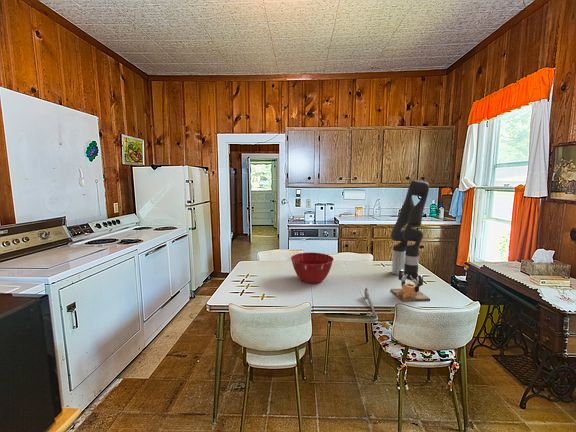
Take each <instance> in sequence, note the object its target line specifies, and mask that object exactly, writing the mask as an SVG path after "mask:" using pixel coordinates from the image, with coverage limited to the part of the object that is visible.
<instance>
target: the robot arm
mask: <svg viewBox="0 0 576 432" xmlns="http://www.w3.org/2000/svg"><path fill="white" fill-rule="evenodd" d="M429 191H430V183H428V182H427V181H421V180H415V179H413V180H411V181H410V183H409V186H408V189H407V192H406V195H405V199H404V202H403V204H402V206H401V208H400V211H399V214H398V217H397V220H396V222H395V224H394V226H393V227H392V230H391V233H390V238H391V240H392V241H394V242H398V243H397V244H394V245H393V247H392V259H391V273H392V274H393V275H395V276H398V280H399V281H400V282H401V287H402V286H403V285H404V284H406V280H408V281H411V282H413V283H412V284H414V285H416V286H415V292H416V293H417V292H418V291H420V287H422V286H424V275H422V274H418V272H419V260H420V259H419V253H420V252H419V251H420V246H421V243H422V240H423V237H424V231H423V230H422V229H415V228H420V227H421V226H422V221H423V213H424V210H425V206H426V203H427V199H428V196H429V195H428V194H429V193H430V192H429ZM413 196H414V197H415V196H416V197H420V200H419V201H418V202H417V203H416V204H415V202H414V200H413ZM405 226H406V227H405ZM404 227H405V228H404ZM409 242H415V243H412V244H409Z"/></svg>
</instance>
